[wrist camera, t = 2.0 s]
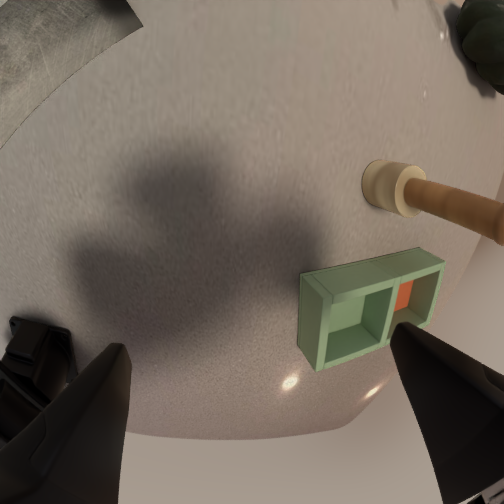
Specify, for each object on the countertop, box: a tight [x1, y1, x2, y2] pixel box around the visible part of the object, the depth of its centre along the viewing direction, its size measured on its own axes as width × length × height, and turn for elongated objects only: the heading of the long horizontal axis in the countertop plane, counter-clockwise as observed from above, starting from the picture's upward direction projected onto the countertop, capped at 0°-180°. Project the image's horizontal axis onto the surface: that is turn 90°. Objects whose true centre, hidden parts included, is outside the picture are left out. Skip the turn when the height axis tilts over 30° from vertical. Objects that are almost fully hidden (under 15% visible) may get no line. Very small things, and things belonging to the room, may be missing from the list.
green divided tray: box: [297, 247, 446, 372], centre depth 23 cm, size 14×8×4 cm, turn 94°
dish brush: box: [362, 160, 504, 246], centre depth 15 cm, size 4×4×13 cm
